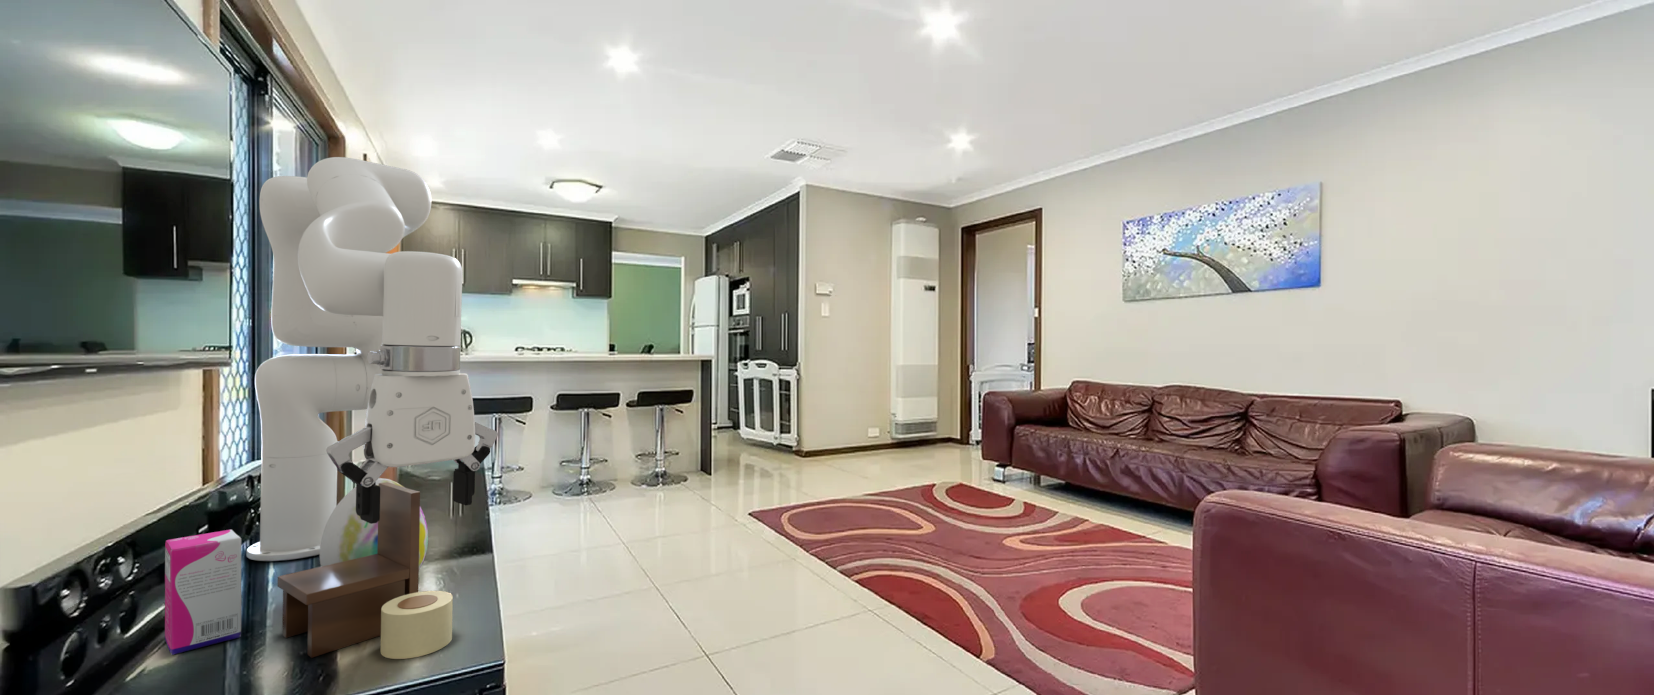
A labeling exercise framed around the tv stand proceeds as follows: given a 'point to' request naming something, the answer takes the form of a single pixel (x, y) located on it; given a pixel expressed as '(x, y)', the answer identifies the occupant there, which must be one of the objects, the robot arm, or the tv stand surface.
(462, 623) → the tv stand surface
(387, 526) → the wooden toy chair
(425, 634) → the tape roll
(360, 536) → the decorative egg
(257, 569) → the tv stand surface
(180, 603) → the supplement box
